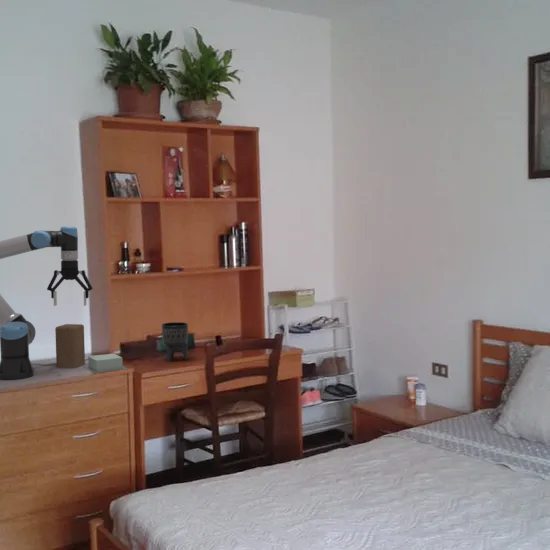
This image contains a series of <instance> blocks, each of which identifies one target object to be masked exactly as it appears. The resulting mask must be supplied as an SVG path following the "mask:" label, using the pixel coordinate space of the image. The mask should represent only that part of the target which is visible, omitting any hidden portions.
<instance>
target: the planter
mask: <svg viewBox="0 0 550 550" xmlns="http://www.w3.org/2000/svg"><path fill="white" fill-rule="evenodd" d="M188 336H189V323H187V322H180V321H179V322H176V321H175V322H174V321H172V322H165V323H162V324H161V338H162V344H163V346H166V348H165V349H166V362H167V363H169V362H171V359H173V358H174V357H175V354H174V353H175V349H178V350H180V352H181V353H182V354H183V360H184V361H187V360H188V341H189V339H188V338H189V337H188Z"/></svg>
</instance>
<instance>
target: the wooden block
mask: <svg viewBox="0 0 550 550" xmlns="http://www.w3.org/2000/svg"><path fill="white" fill-rule="evenodd" d="M85 350H86V349H85V327H84V324H81V323H80V324H78V323H77V324H76V323H65V324H61V325H58V326H56V327H55V355H56V356H55V357H56V358H55V363H56V368H58V369H59V368H63V369H77V368H80V367H82V366H84V365H86V357H85V356H86V353H85Z"/></svg>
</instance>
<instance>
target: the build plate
mask: <svg viewBox="0 0 550 550" xmlns="http://www.w3.org/2000/svg"><path fill="white" fill-rule="evenodd" d="M122 366H123V368H122V369H114V370H115V371H120V370H121V371H122V370H129V368H128V367H125V366H124V365H122ZM83 369H86V370H88V371H89V372H91V373H93V374H96V373H97V374H98V373H105V372H113V371H112V370H106V371H98V372H97V371H95V370H93V369H91V368H90V367H89V365H88V366H83Z"/></svg>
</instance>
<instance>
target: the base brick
mask: <svg viewBox="0 0 550 550" xmlns="http://www.w3.org/2000/svg"><path fill="white" fill-rule="evenodd" d="M88 366H89V367H90V368H91V369H93V370H95V371H97V372H98V371H106V370H114V369H122V368H123V366H124V365H123V357H122V356H119V355H117V354H115V353H108V354H99V355H89V356H88Z"/></svg>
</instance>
